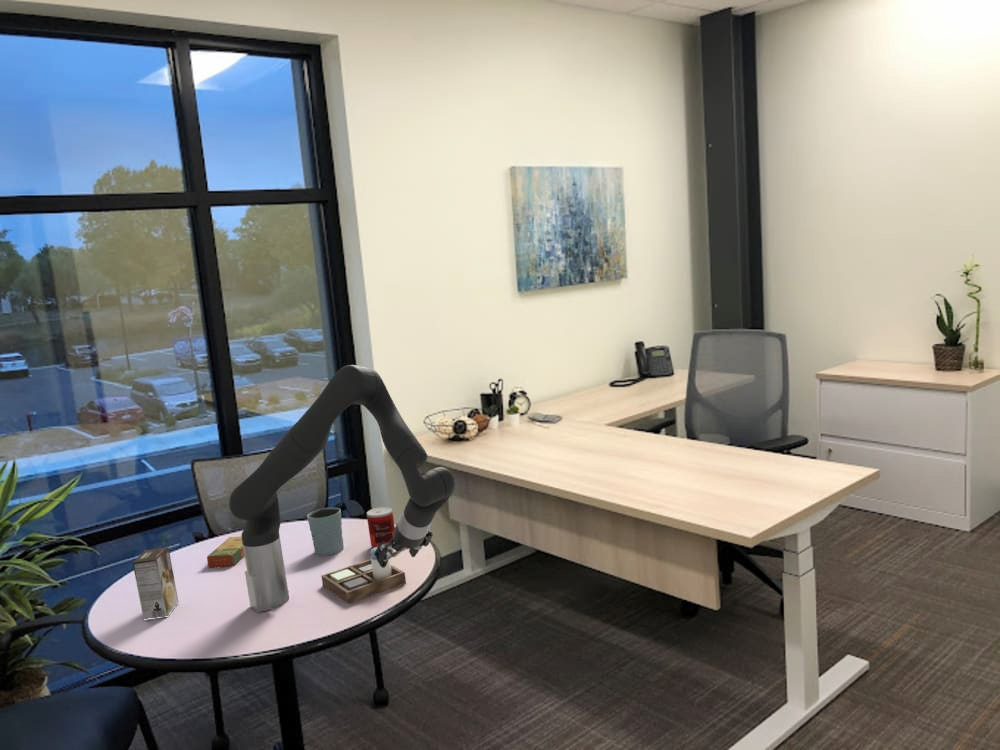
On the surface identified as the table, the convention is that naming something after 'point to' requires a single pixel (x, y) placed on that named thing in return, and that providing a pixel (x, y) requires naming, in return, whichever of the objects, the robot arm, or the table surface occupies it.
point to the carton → (227, 553)
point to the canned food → (380, 525)
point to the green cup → (326, 530)
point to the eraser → (355, 583)
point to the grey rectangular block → (365, 568)
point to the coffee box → (155, 583)
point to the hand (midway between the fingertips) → (396, 559)
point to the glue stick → (379, 567)
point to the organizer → (366, 590)
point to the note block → (342, 575)
